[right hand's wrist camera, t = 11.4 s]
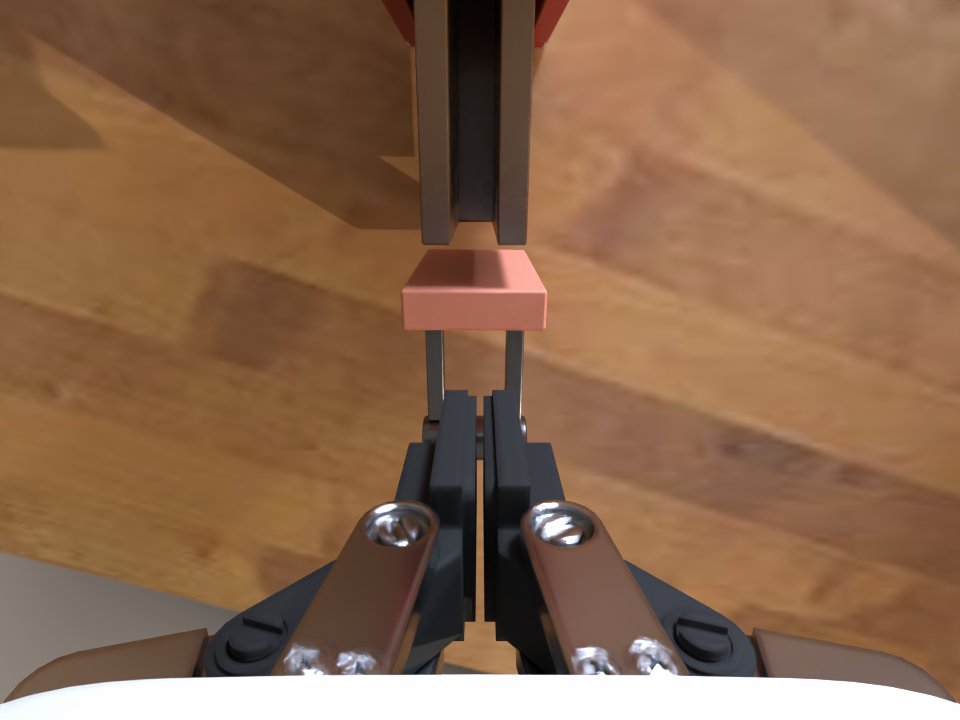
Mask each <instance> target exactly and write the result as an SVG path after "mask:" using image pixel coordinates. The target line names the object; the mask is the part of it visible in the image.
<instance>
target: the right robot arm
mask: <svg viewBox="0 0 960 720" xmlns="http://www.w3.org/2000/svg"><path fill="white" fill-rule="evenodd" d="M476 518H477V439H476V396H468V391H467V390H445V392H444V398H443V404H442V410H441V416H440V423H439V429H438V435H437V441H436V443H410V444H409V447H408V450H407V454H406V458H405V462H404V466H403V470H402V474H401V477H400V481H399V485H398V489H397V493H396V497H395V501H390V502H385V503H383V504H380V505H378V506H375V507H373V508H372V509H371V510H369V511H368V512H366V513H365V514H364V515H363V516H362V518H361V519H360V520H359V521H358V523H357V525H356V526H355V528H354V530H353V532H352V533H351V535H350V537H349V539H348V540H347V542H346V544H345V545H344V547H343V549H342V551H341V552H340V554H339V556H338V558H337V559H336V560H334V561H332V562H331V563H329V564H327V565H325V566H323V567H322V568H320V569H318V570H316V571H315V572H313V573H311V574H309V575H307V576H306V577H304V578H302V579H300V580H299V581H297V582H295V583H293V584H291V585H290V586H288V587H286V588H284V589H283V590H281V591H279V592H277V593H276V594H274V595H272V596H270V597H268V598H267V599H265V600H263V601H261V602H260V603H258V604H256V605H254V606H252V607H251V608H249V609H247V610H245V611H244V612H242V613H240V614H238V615H237V616H236V617H234V618H233V619H231V620H230V621H228V622H227V623H226V624H224V625H223V626H222V628H221V629H220V630H219V631H218V632H217V633H216V634H215V635H211V636H208V632H207V629H206V628H203V629H198V630H192V631H187V632H181V633H176V634H171V635H166V636H160V637H155V638H149V639H144V640H139V641H133V642H127V643H122V644H117V645H111V646H106V647H101V648H95V649H90V650H84V651H79V652H75V653H72V654H69V655H65V656H62V657H59V658H57V659H55V660H53V661H51V662H49V663H47V664H46V665H44V666H42V667H40V668H38V669H37V670H36V671H34V672H33V673H32V674H30V675H29V676H28V677H26V678H25V679H24V680H23V681H21V682H20V683H19V684H18V685H17V686H16V688H15V689H14V690H13V691H12V692H11V694H10V695H9V696H8V697H7V698H6V699H5V701H4V703H3V704H0V720H960V704H957V703H956V701H955V699H954V698H953V697H952V696H951V695H950V694H949V692H948V691H947V690H946V689H945V688H944V686H943V685H942V684H941V683H940V682H939V681H937V680H936V679H935V678H934V677H932V676H931V675H930V674H928V673H927V672H926V671H925V670H923V669H922V668H920V667H918V666H916V665H914V664H913V663H911V662H909V661H907V660H905V659H903V658H901V657H898V656H894V655H891V654H888V653H885V652H881V651H876V650H870V649H865V648H860V647H854V646H849V645H843V644H838V643H833V642H827V641H822V640H816V639H811V638H806V637H800V636H795V635H789V634H784V633H779V632H773V631H768V630H762V629H757V628H753V632H752V636H749V635H745V634H744V633H743V632H742V631H741V630H740V629H739V628H738V626H737V625H736V624H734V623H733V622H732V621H730V620H729V619H727V618H726V617H724V616H723V615H722V614H720V613H718V612H716V611H715V610H713V609H711V608H709V607H708V606H706V605H704V604H702V603H700V602H699V601H697V600H695V599H693V598H692V597H690V596H688V595H686V594H684V593H683V592H681V591H679V590H677V589H676V588H674V587H672V586H670V585H668V584H667V583H665V582H663V581H661V580H660V579H658V578H656V577H654V576H653V575H651V574H649V573H647V572H645V571H644V570H642V569H640V568H638V567H637V566H635V565H633V564H631V563H629V562H628V561H626V560H624V559H623V558H622V556H621V554H620V552H619V551H618V549H617V547H616V545H615V544H614V542H613V540H612V539H611V537H610V535H609V533H608V532H607V530H606V528H605V526H604V525H603V523H602V521H601V520H600V519H599V518H598V516H597V515H596V514H595V513H594V512H592V511H591V510H589V509H588V508H587V507H585V506H582V505H580V504H577V503H575V502H570V501H565V497H564V493H563V489H562V485H561V481H560V477H559V474H558V470H557V466H556V462H555V458H554V454H553V450H552V447H551V444H550V443H524V441H523V435H522V429H521V423H520V416H519V410H518V404H517V398H516V392H515V390H493V391H492V396H484V438H483V518H484V617H485V622H495V626H496V641H508V642H509V643H510V644H511V645H512V646H514V647H515V648H516V666H517V671H518V675H442V671H443V666H444V648H445V647H446V646H448V645H449V644H450V643H451V642H452V641H464V626H465V622H475V617H476Z"/></svg>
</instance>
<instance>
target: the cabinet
mask: <svg viewBox="0 0 960 720" xmlns="http://www.w3.org/2000/svg"><path fill="white" fill-rule="evenodd" d="M382 2H383V3H384V5H385V7H386V8H387V10H388V12H389V14H390V15H391V17H392V19H393V21H394V22H395V24H396V26H397V28H398V29H399V31H400V33H401V34H402V36H403V38H404V40H405V43H406V45H407V47H411V46H415V29H414V0H382ZM568 2H569V0H535V21H534V47H542V48H546V46H547V44H548V40H549V38H550V36H551V34H552V32H553V30H554V29H555V27H556V25H557V23H558V21H559V19H560V17H561V15H562V13H563V11H564V10H565V8H566V6H567V4H568Z"/></svg>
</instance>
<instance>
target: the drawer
mask: <svg viewBox="0 0 960 720" xmlns="http://www.w3.org/2000/svg"><path fill="white" fill-rule="evenodd" d="M534 21H535V0H414V29H415V58H416V88H417V117H418V146H419V176H420V205H421V234H422V244H423V245H449V244H450V243H451V241H452V238H453V236H454V233H455V231H456V228H457V226H458V223H459V222H493V226H494V230H495V234H496V239H497V243H498V245H526V242H527V215H528V187H529V159H530V132H531V104H532V76H533V48H534ZM401 307H402V327H403V329H405V330H425V333H426V363H427V392H428V415H427V416H425V418H424V421H423V431H422V443H436V441H437V435H438V429H439V423H440V416H441V410H442V404H443V398H444V392H445V365H444V330H506V352H505V390H515V392H516V398H517V404H518V410H519V416H520V423H521V429H522V435H523V441H524V443H527V429H526V420H525V417H524V416H521V403H522V376H523V348H524V331H542V330H545V327H546V308H547V291H546V290H545V288H544V286H543V284H542V282H541V280H540V279H539V277H538V275H537V273H536V271H535V269H534V268H533V266H532V264H531V262H530V260H529V259H528V257H527V255H526V253H525V251H524V250H428V251H427V252H426V254H425V255H424V257H423V258H422V260H421V261H420V263H419V264H418V266H417V268H416V269H415V271H414V272H413V274H412V275H411V277H410V278H409V280H408V281H407V283H406V284H405V286H404V288H403V289H402V291H401ZM483 438H484V416H476V439H477V460H483Z"/></svg>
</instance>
